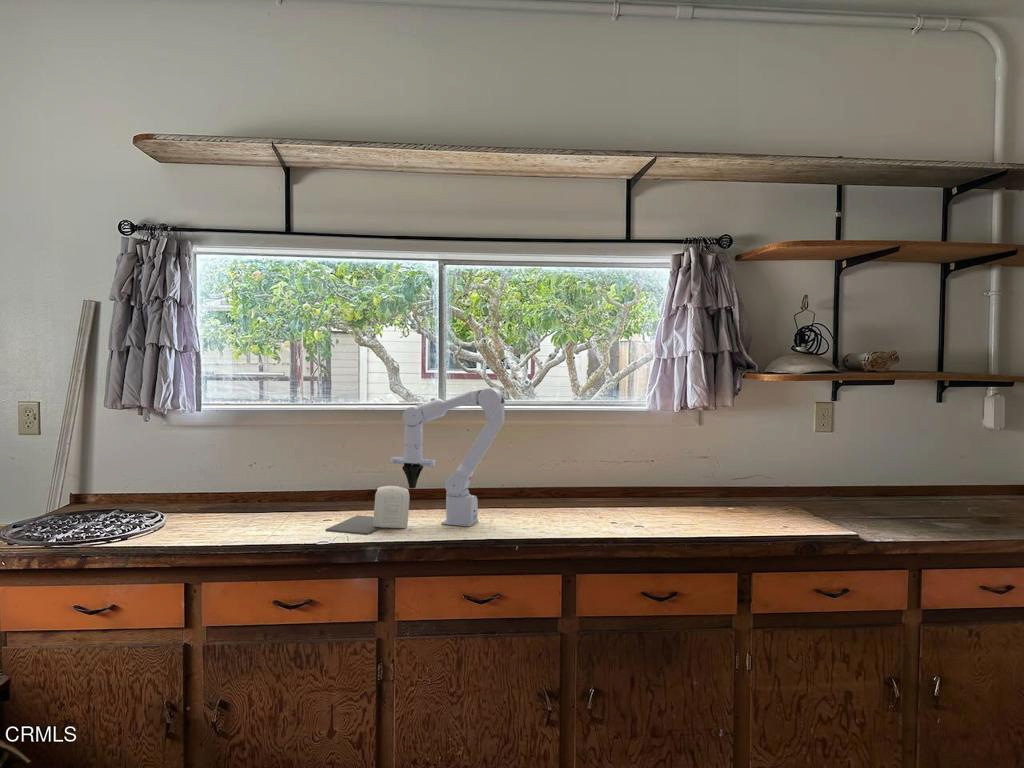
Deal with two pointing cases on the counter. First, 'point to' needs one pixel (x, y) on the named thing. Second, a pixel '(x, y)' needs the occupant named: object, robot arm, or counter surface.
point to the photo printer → (391, 507)
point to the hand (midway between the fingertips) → (412, 487)
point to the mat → (355, 525)
